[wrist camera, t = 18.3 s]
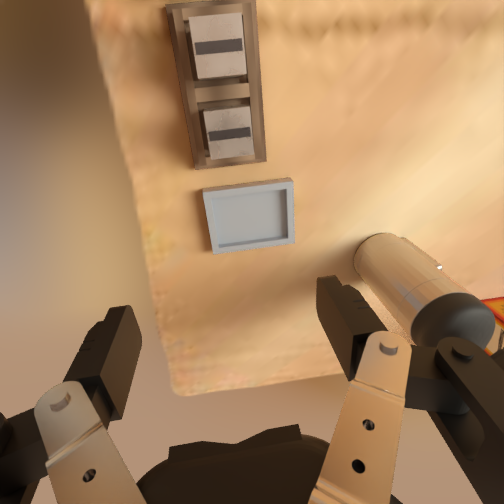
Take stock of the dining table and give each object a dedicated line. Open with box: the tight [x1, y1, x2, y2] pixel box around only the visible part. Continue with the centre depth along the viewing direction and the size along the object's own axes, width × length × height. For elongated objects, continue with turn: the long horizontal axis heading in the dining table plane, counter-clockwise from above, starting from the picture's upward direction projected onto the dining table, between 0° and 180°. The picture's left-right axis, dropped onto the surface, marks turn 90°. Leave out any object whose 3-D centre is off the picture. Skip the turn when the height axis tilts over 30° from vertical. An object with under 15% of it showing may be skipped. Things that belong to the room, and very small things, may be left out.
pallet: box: [165, 0, 267, 170], centre depth 37 cm, size 10×18×2 cm, turn 5°
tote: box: [202, 178, 295, 255], centre depth 46 cm, size 13×10×2 cm
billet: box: [203, 104, 254, 160], centre depth 36 cm, size 5×5×7 cm
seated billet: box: [188, 13, 247, 81], centre depth 32 cm, size 5×5×7 cm
